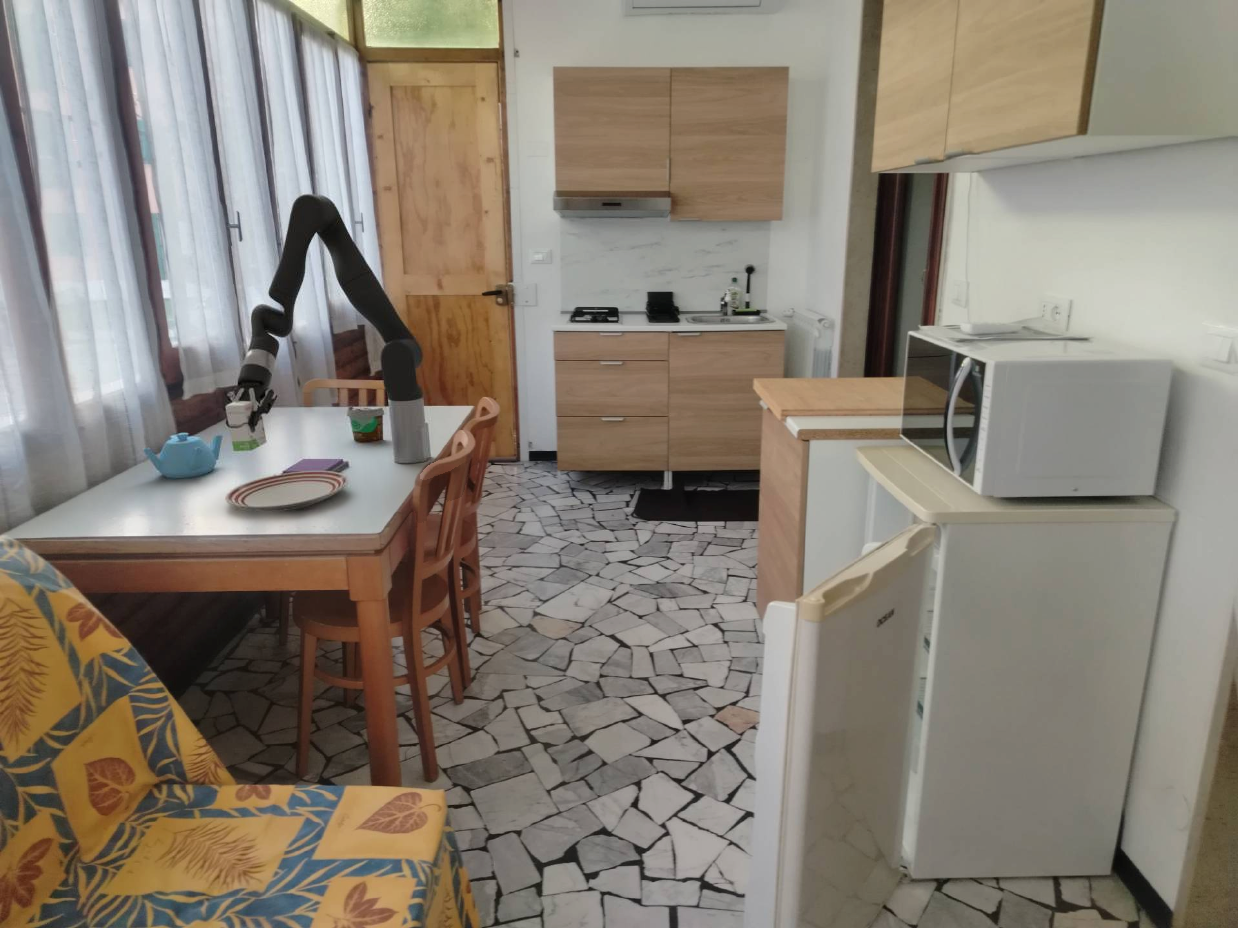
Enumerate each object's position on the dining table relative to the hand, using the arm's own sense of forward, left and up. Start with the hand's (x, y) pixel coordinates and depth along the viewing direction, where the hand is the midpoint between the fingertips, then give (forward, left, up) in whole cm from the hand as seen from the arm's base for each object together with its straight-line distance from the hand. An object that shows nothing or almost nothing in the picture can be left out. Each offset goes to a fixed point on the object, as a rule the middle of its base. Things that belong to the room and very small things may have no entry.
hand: (240, 426), depth 208 cm
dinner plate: (-17, +12, -15) cm, 26 cm away
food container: (-13, -44, -15) cm, 48 cm away
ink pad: (-13, -10, -15) cm, 22 cm away
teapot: (+22, -10, -15) cm, 28 cm away
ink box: (0, -3, -6) cm, 7 cm away
